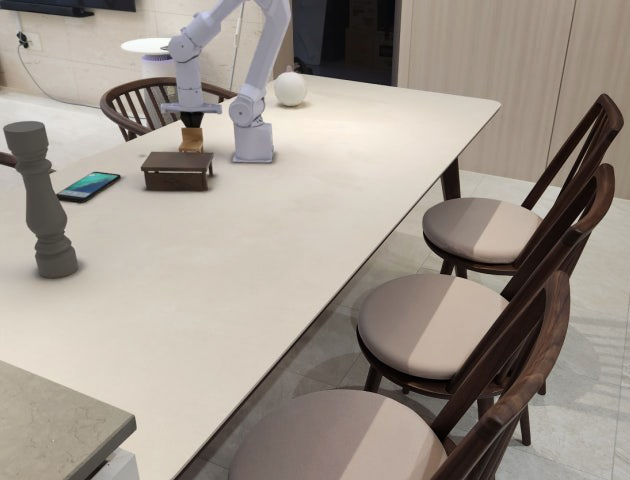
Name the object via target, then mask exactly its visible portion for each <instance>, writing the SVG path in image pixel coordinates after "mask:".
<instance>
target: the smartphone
mask: <svg viewBox="0 0 630 480" xmlns="http://www.w3.org/2000/svg"><path fill="white" fill-rule="evenodd" d="M121 177H122V176H121V174H118V173H111V172H104V171H103V172H102V171H93V172H90V173H89V174H87V175H86V176H83V178H80V179H79V180H77V181H76V182H73V183H72V184H71V185H69V186H68V187H66V188H64V189H62V190H61V191H59V192H57V193H55V194H56V196H57V197H58V199H59V200H64V201H71V202H78V203H84V202H86V201H87V200H89V199H90V198H93V196H95V195H97V194H98V193H100V192H101V191H103V190H104V189H105V188H107V187H109V186H110V185H112V184H113V183H115V182H116V181H118V180H119V179H120V178H121Z"/></svg>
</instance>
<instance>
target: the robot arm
mask: <svg viewBox="0 0 630 480" xmlns="http://www.w3.org/2000/svg"><path fill="white" fill-rule="evenodd" d="M248 1H250V0H219V1H218V2H217V3H216V5H215V6H214V7H213V8H212V9H211V10H210V11H207V10H201V11H197V12H195V13H194V14H193V15H192V17H193V19H192V20H191V21H190V23H188V25H186V26H183V27H181V28H180V30H179V31H180V34H178V35H173V36H172V37H171V38H170V40H169V42H168V45H167V50H168V53H169V56H170V57H171V58H172V59H173V64H174V74H175V82H176V83H175V84H176V89H177V99H178V102H164V103H161V104H160V107H159V108H160V114H166V113H172V114H180V116H179V119H180V121H181V122H182V124H183V125H184V128H201V125H202V122H203V119H204V116H205V114H216V115H222V114H223V105H222V104H219V103H218V104H217V103H210V102H204V98H203V97H204V96H203V87H202V80H201V69H200V60H199V57H200V55H201V53H202V52H203V49H204V48H205V47H206V46H207V45H209V44H210V42H212V40H213V39H215V37H216V36H218V35H219V33H220V32H221V31H222V23H223V21H225V20H226V19H227V18H228V17H229V16H230V15H231V14H232V13H233V12H234V11H236V10H237V9H238V8H239V7H240V6H241V5H242V4H243V3H245V2H248ZM253 1H254V2H255V4H257V6H258V7H259V8H260V9H261V11H262V14H263V15H264V17H265V22H264V25H263V27H262V31H261V33H260V36H259V39H258V42H257V45H256V48H255V51H254V52H253V57H252V60H251V62H250V66H249V69H248V70H247V73H246V77H245V79H244V82H243V84H242V86H241V88H240V89H239V91H238V93H237V95H236V97H235V99H234V100H233V101H232V102H231V103H230V104H229V106H228V116H229V118H230V120H231V122H232V123H233V124H232V125H233V138H234V150H235V152H234V155H233V158H232V163H261V164H263V163H264V164H265V163H268V164H269V163H272V162H273V156H274V153H275V148H274V147H275V145H274V144H273V143H274V140H273V139H274V138H273V125H272V122H271V123H270V122H265V121H264V119H263V116H262V114H263V113H264V112H265V109H266V95H267V93H268V91H267V86H268V83H269V80H270V78H271V75H272V71H273V69H274V66H275V64H276V61H277V58H278V55H279V52H280V50H281V47H282V44H283V42H284V39H285V36H286V34H287V31H288V28H289V25H290V22H291V19H292V11H291V5H290V0H253Z"/></svg>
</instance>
